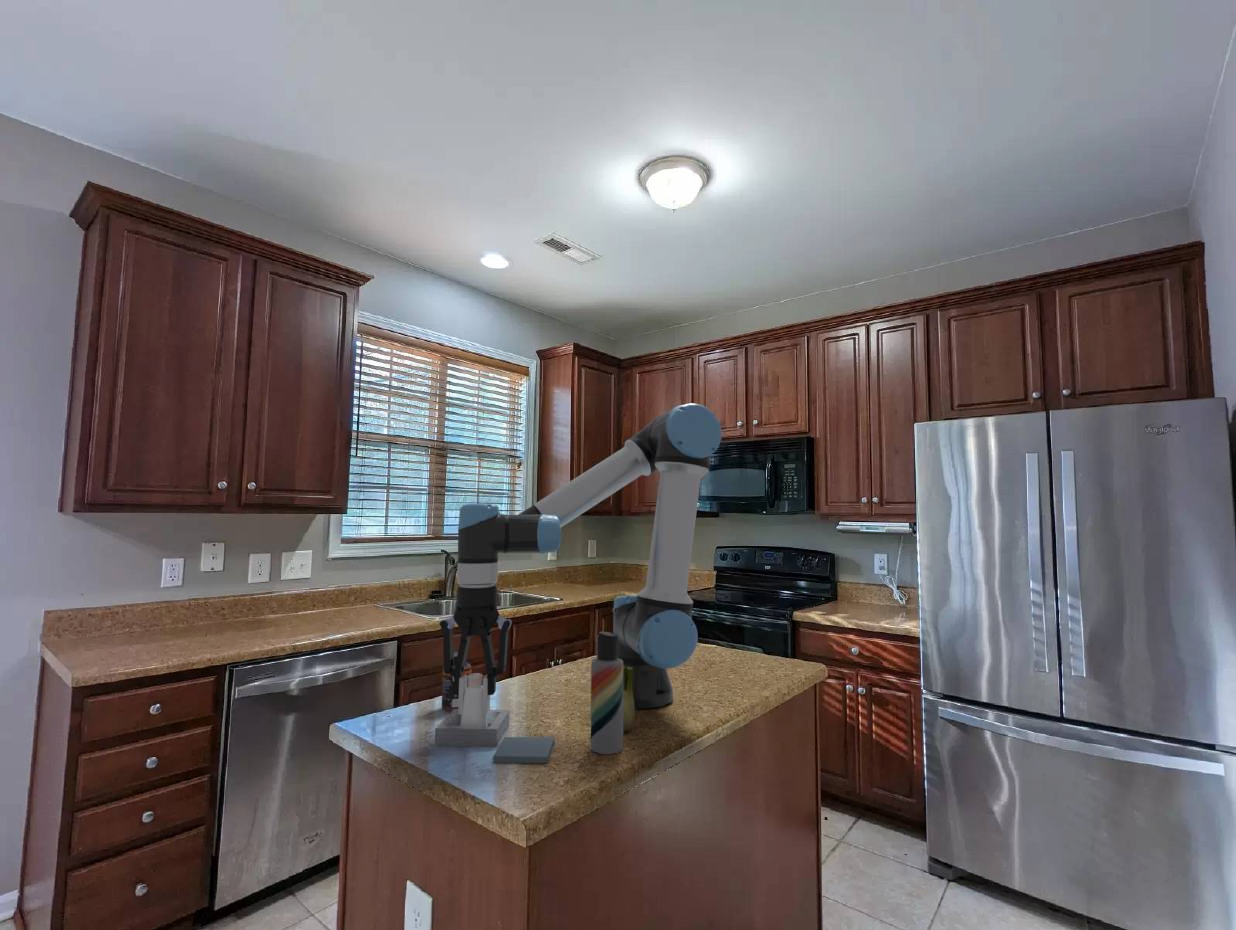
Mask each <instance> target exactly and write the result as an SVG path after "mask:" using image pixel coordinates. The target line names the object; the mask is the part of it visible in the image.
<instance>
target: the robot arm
mask: <svg viewBox="0 0 1236 930" xmlns="http://www.w3.org/2000/svg"><path fill="white" fill-rule="evenodd" d="M722 435H723V434H722V426H721V423H720V421H719V419H718V418H717V416H716V415H715V414H714V412H713V411H712V410H711V409H710V408H707V407H706V406H704V405H702V404H700V403H685V404H681V405H677V406H675V407H674V408H672V409H671V410H669V411H668V412H665V413H662V414H660V415H658V416H657V417H655V418H654V419H653V420H652V421H650V422H649V423H648V424H647V425H646V426H645V427H643V428H642V429H641V430H639V431H638V432H637V433H636V434H635V435H633V436H631V437H630V438H628V439H627V440H626V441H625V442H624V446H623V447H622V448H621V449H619V450H617V451H615V452H614V453H613V454H611V455H610V456H608V457H606V458H605V459H604V460H602V461H600V462H599V463H597V464H595V465H594V466H592V467H590V468H589V469H588V470H586V471H584V472H583V473H582V474H580V475H578V476H577V477H575V478H573V479H572V480H569V482H567V483H565V484H564V485H562V486H561V487H559V488H558V489H556V490H555V491H553V492H552V493H550V494H548V495H546V496H545V497H543V498H542V499H540V500H539V501H537V502H536V503H534V504H532V505H531V506H530V507H528V508H526V509H525V510H523V511H522V512H520V513H518V514H504V513H501V512H500V507H499V505H497V504H494V503H492V504H491V503H489V504H488V503H466V504H463V505H462V506H461V507H460V509H459V513H458V515H459V516H458V525H457V526H458V527H457V532H458V533H457V566H456V568H457V570H456V572H457V573H456V574H457V575H456V583H457V584H458V585H459V586H457V588H456V603H455V604H456V606H455V607H456V608H455V609H456V610H455V612H454V613H453V616H451V617H448V618H444V619H443V620H440V622H439V626H440V629H441V631H442V634H443V635H442V639H443V640H442V641H443V649H442V650H443V667H444V673H445V674H450V675H452V676H453V677H454V695H459V705H458V715H462V713H463V701H464V693H465V689H466V688H467V675H463V673H464V666H465V662H466V657H467V658H468V652H469V646H470V644H471V642H470V641H471V640H472V639H471V638H472V636H478V637H479V639H480V641H481V644H482V650H483V651H482V652H483V657H484V663H485V664H484V665H485V670H486V675H485V676H483V677H482V687H483V711H482V715H487V714H488V712H489V711H490V710H491V696H494V695H495V693H496V690H497V676H499V675H503V673H504V672H505V671H506V670H507V661H508V646H509V645H508V644H509V632H510V630H511V626H512V625H513V620H512V619H511V618H508V619H507V618H505V617H503V616H500V612H499V610H498V587H497V585H496V584H497V583H498V581H499V580H498V575H499V574H498V573H499V571H498V570H499V565H498V564H499V554H541V555H543V554H547V553H556V552H557V551H558V550H559V549H560V546H561V539H562V527H564V526H565V525H567V524H569V523H570V522H572V521H573V520H575V519H576V518H578V517H579V516H581V515H582V514H584V513H585V512H587V511H588V510H590V509H591V508H593V507H595V506H596V505H598V504H599V503H600V502H602V501H604V500H605V499H607V498H609V497H610V496H612V495H613V494H615V493H617V492H618V491H620V490H622V488H624V487H625V486H627V485H628V484H630V483H632V482H633V481H635V480H636V479H638V478H639V477H642V476H647V477H648V476H650V475H651V474H653V473H655V472H657V471H658V472H659V474H660V475H659V482H658V492H657V498H656V504H655V505H656V506H655V513H654V521H653V527H652V537H651V543H650V544H651V545H650V551H649V560H648V565H647V566H648V567H647V573H646V574H647V576H646V580H645V581H646V583H645V586H644V588H643V589H641V590H640V591H639V592H638V593H637V594H634V595H618V596H616V597H615V599H614V600H613V608H612V614H613V617H612V618H613V621H612V622H613V623H612V624H613V627H612V628H613V629H612V631H613V632H612V633H614V634H616V635H618V658H619V659H622V660H623V666H625V671H626V667H632V668H633V676H632V692H633V699H634V706H635V709H643V710H645V709H653V708H654V709H656V708H661V707H665V706H667V705H666V704H668V703H670V704H671V703H672V702H673V701H674V688H673V685H672V682H671V679H670V675H669V673H668V670H670V669H674V668H677V667H680V666H681V665H683V664H684V663H686V662H687V661H688V660H689V659H690V658H691V657H692V656H693V654H694V652H695V651H696V648H697V644H698V639H699V637H698V630H697V626H696V624H695V622H694V621H693V618H692V617H693V616H692V614H693V607H694V606H693V605H694V600H692V598H691V597H690V595H689V594H688V585H689V577H690V569H691V560H692V553H693V544H694V537H695V536H694V535H695V528H696V520H697V511H698V504H699V503H698V501H699V495H700V487H701V479H702V478H703V477H704V476H705V475H707V474H708V473H709V471H710V464H711V456H712V455H713V454H714V453H715V452H716V451H717V449H718V448H719V446H720V443H721V441H722ZM496 623H497V624H498V625H497V627H498V629H499V630H500V631H499V636H498V649H497V650H498V651H497V663H496V660H495V659H496V658H495V653H494V647H493V641H492V632H491V631H492V629H493V628H494V627H495V625H496ZM455 624H456V625H457V626H458V629H460V631H461V633H460V638H459V640H460V642H459V646H458V651H457V653H458V655H457V660H456V664H455V667H454V653H455V652H454V651H455V649H454V648H455V647H454V645H455V643H454V628H455ZM496 664H497V666H496ZM672 700H673V701H672ZM671 701H672V702H671ZM664 705H665V706H664ZM668 705H669V704H668ZM655 707H656V708H655Z"/></svg>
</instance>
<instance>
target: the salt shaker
mask: <svg viewBox="0 0 1236 930" xmlns="http://www.w3.org/2000/svg"><path fill="white" fill-rule="evenodd" d="M467 678H468V687H467V688H466V689H465V693H464V701H463V713H462V717H461V725H460V726H488V725H487V715H482V711H483V678H484V675H483V674H482V673H480V672H474V673H472V672H471V674H469V675H468V676H467Z"/></svg>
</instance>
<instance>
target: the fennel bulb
mask: <svg viewBox="0 0 1236 930" xmlns="http://www.w3.org/2000/svg"><path fill="white" fill-rule="evenodd" d="M632 676H633V668H632V667H626V671H625V666H623V735H625V734H628V733H629V732H631V731H632V729H633V727H634V724H635V719H636V718H635V717H636V713H635V711H636V710H635V709H636V708H635V706H634V699H633V692H632Z"/></svg>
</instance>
